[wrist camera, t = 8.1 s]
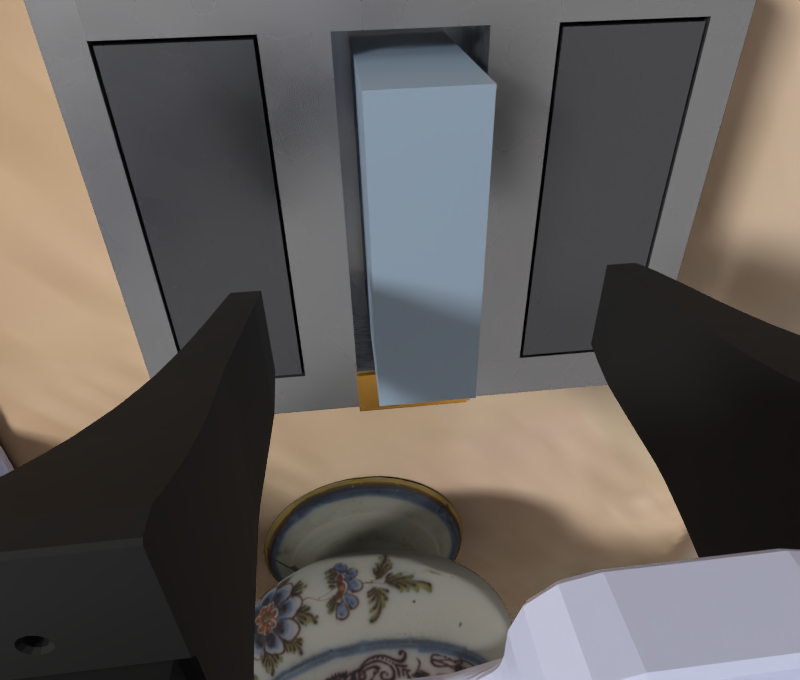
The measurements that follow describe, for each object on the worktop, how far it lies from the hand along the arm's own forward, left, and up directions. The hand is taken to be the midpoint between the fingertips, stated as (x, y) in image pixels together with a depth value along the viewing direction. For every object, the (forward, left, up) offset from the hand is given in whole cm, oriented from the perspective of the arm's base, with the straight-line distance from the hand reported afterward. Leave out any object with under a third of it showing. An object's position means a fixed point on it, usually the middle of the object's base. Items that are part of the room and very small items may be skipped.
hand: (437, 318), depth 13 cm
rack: (0, 0, -9) cm, 9 cm away
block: (0, 0, -8) cm, 8 cm away
